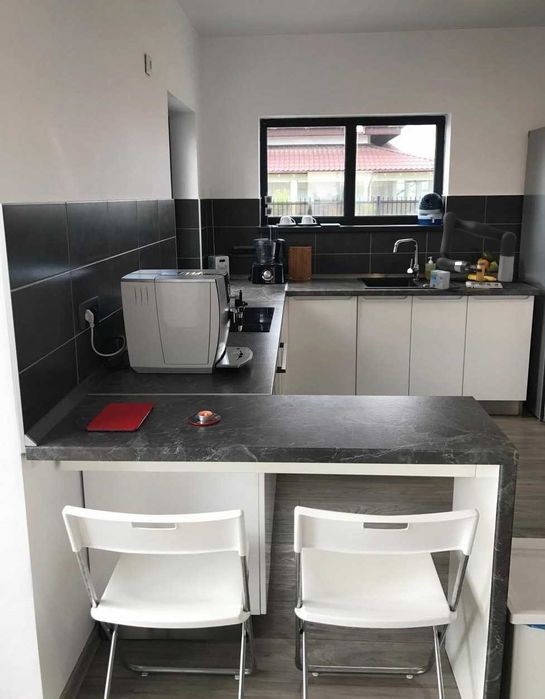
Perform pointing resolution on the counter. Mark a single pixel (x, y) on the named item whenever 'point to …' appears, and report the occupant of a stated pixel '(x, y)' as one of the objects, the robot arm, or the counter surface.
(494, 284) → the breaker board
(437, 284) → the light bulb box
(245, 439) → the counter surface
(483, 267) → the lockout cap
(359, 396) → the counter surface
